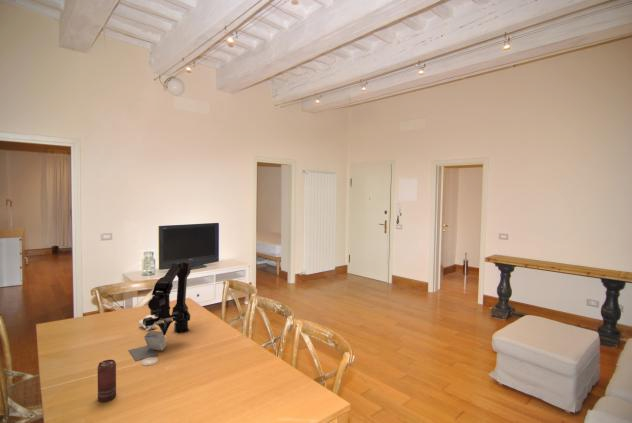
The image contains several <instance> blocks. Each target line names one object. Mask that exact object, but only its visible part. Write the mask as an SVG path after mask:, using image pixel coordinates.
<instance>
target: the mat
mask: <svg viewBox="0 0 632 423" xmlns="http://www.w3.org/2000/svg"><path fill="white" fill-rule="evenodd" d="M128 353H129V354H130V356H131V357H132V359H133V360H134V361H135V362H138V361H142V360H143V359H145V358H149V357H156V356H158V355H159V354H158V353H157V352H156V350H152V349H149V348H148V346H147V345H145V346H139V347H135V348H132V349H131V348H130V349H128Z"/></svg>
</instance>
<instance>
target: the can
mask: <svg viewBox="0 0 632 423" xmlns="http://www.w3.org/2000/svg"><path fill="white" fill-rule="evenodd" d="M116 396H117V362H116V360H114V359H105V360H103V361H100V362H99V363H98V365H97V400H98V401H99V402H101V403H105V402H109V401H111V400H114V399H115V398H116Z"/></svg>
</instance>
